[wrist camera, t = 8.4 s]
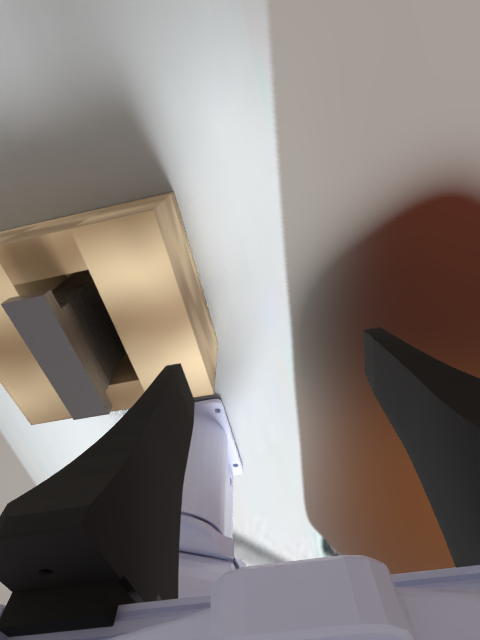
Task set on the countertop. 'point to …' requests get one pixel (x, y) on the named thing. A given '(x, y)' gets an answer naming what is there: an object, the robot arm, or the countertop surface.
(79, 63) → the countertop surface
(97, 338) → the grey flat piece
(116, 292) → the slotted wooden block
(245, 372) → the countertop surface
